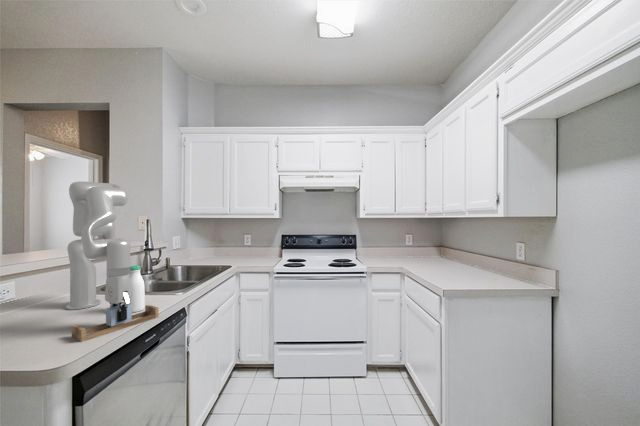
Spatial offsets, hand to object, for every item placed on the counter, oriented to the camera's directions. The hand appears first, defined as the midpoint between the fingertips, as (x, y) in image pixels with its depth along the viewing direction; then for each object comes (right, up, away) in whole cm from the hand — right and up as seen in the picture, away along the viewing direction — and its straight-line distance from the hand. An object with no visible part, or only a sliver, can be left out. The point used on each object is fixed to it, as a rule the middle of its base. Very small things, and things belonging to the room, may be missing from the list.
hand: (118, 319), depth 109 cm
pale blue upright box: (0, -1, 0) cm, 1 cm away
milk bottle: (-6, -3, +18) cm, 19 cm away
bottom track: (0, -3, 0) cm, 3 cm away
